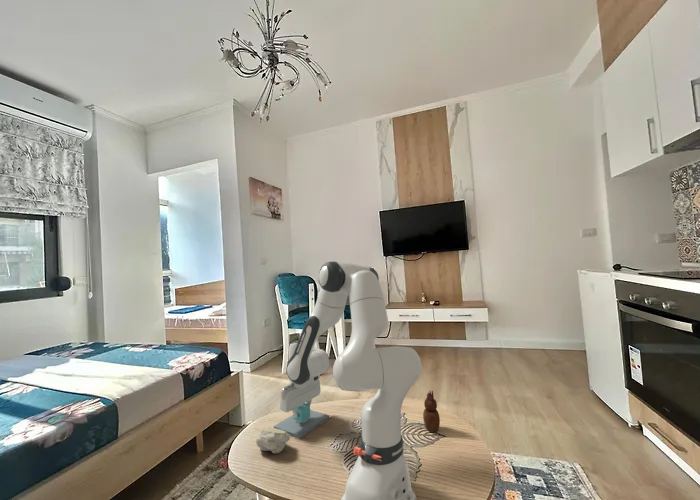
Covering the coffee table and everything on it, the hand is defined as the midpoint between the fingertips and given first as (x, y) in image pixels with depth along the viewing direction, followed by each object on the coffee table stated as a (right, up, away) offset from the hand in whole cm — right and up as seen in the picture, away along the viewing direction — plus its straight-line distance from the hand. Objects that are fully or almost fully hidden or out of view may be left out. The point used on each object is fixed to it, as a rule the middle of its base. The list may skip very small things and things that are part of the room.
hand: (301, 414), depth 130 cm
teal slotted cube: (0, -2, 0) cm, 2 cm away
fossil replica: (-7, -4, -18) cm, 20 cm away
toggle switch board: (0, -4, 0) cm, 4 cm away
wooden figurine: (+51, -1, -10) cm, 52 cm away
